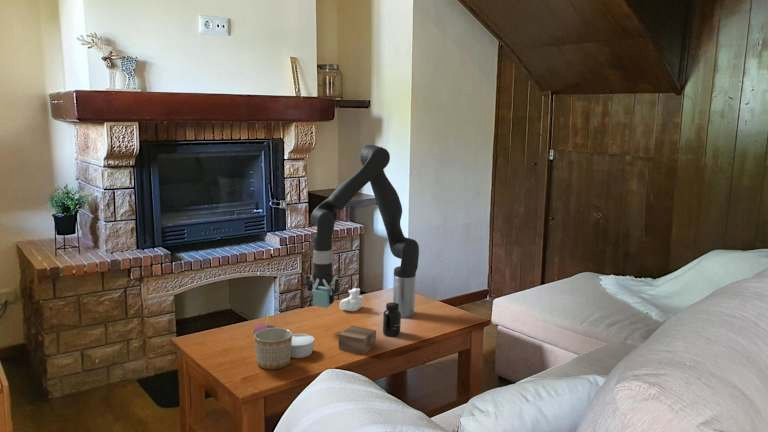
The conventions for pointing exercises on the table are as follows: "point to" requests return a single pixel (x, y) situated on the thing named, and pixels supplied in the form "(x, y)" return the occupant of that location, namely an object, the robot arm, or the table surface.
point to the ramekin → (301, 345)
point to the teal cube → (321, 297)
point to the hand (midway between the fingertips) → (323, 302)
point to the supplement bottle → (391, 319)
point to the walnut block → (357, 339)
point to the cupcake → (262, 326)
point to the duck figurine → (352, 301)
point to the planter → (273, 347)
